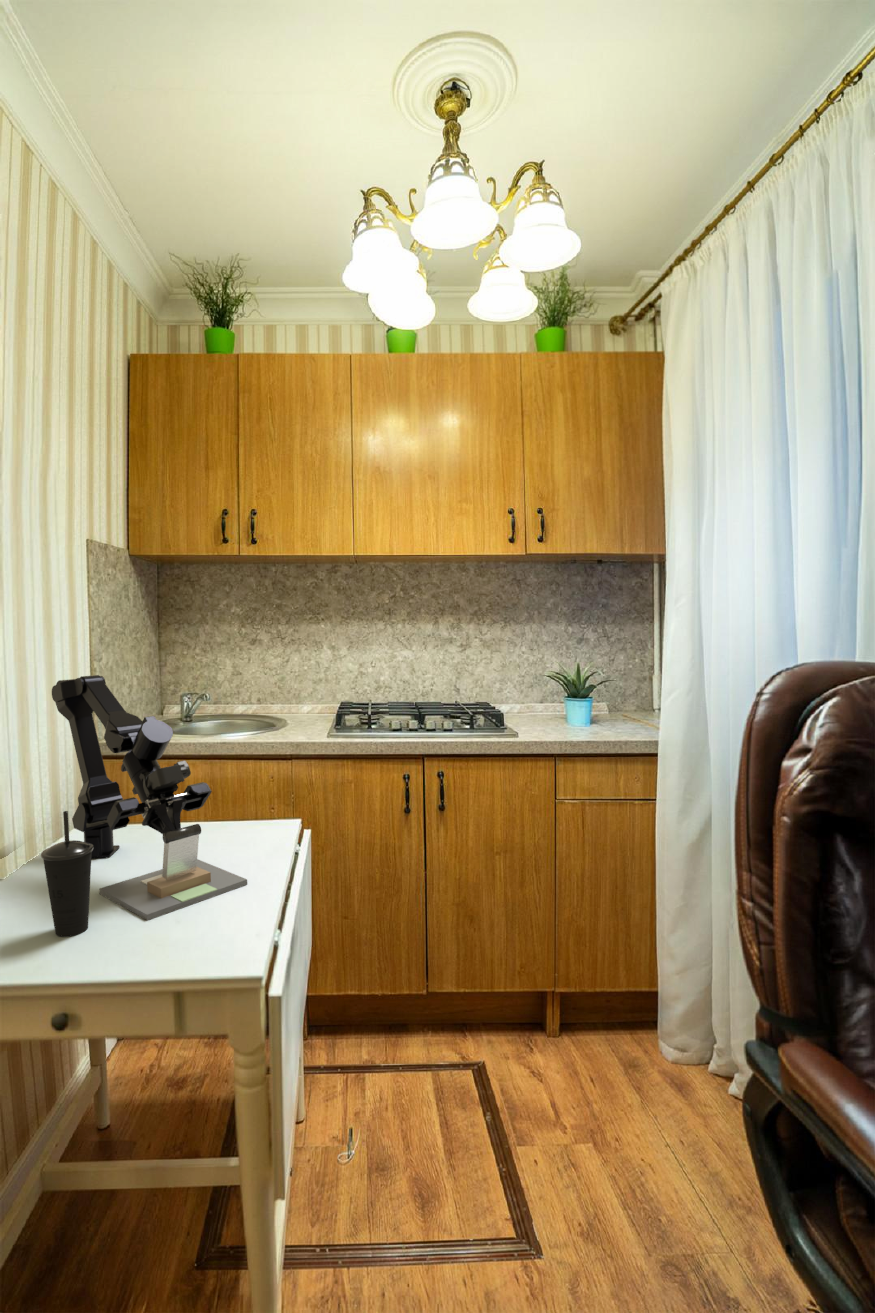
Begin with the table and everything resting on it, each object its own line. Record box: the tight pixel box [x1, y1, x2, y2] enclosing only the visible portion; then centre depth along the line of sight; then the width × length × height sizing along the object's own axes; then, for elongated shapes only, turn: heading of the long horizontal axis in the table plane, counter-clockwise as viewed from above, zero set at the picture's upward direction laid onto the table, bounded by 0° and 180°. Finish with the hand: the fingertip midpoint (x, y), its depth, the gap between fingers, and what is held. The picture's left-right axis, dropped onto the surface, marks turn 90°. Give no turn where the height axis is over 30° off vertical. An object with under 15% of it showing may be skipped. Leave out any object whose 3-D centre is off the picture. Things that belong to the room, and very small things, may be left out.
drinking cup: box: [40, 810, 93, 938], centre depth 117 cm, size 8×8×20 cm
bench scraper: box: [162, 823, 202, 880], centre depth 132 cm, size 2×7×9 cm, turn 140°
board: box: [98, 858, 248, 921], centre depth 135 cm, size 18×20×3 cm
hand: (178, 841), depth 132 cm, fingers closed, pressing on bench scraper
